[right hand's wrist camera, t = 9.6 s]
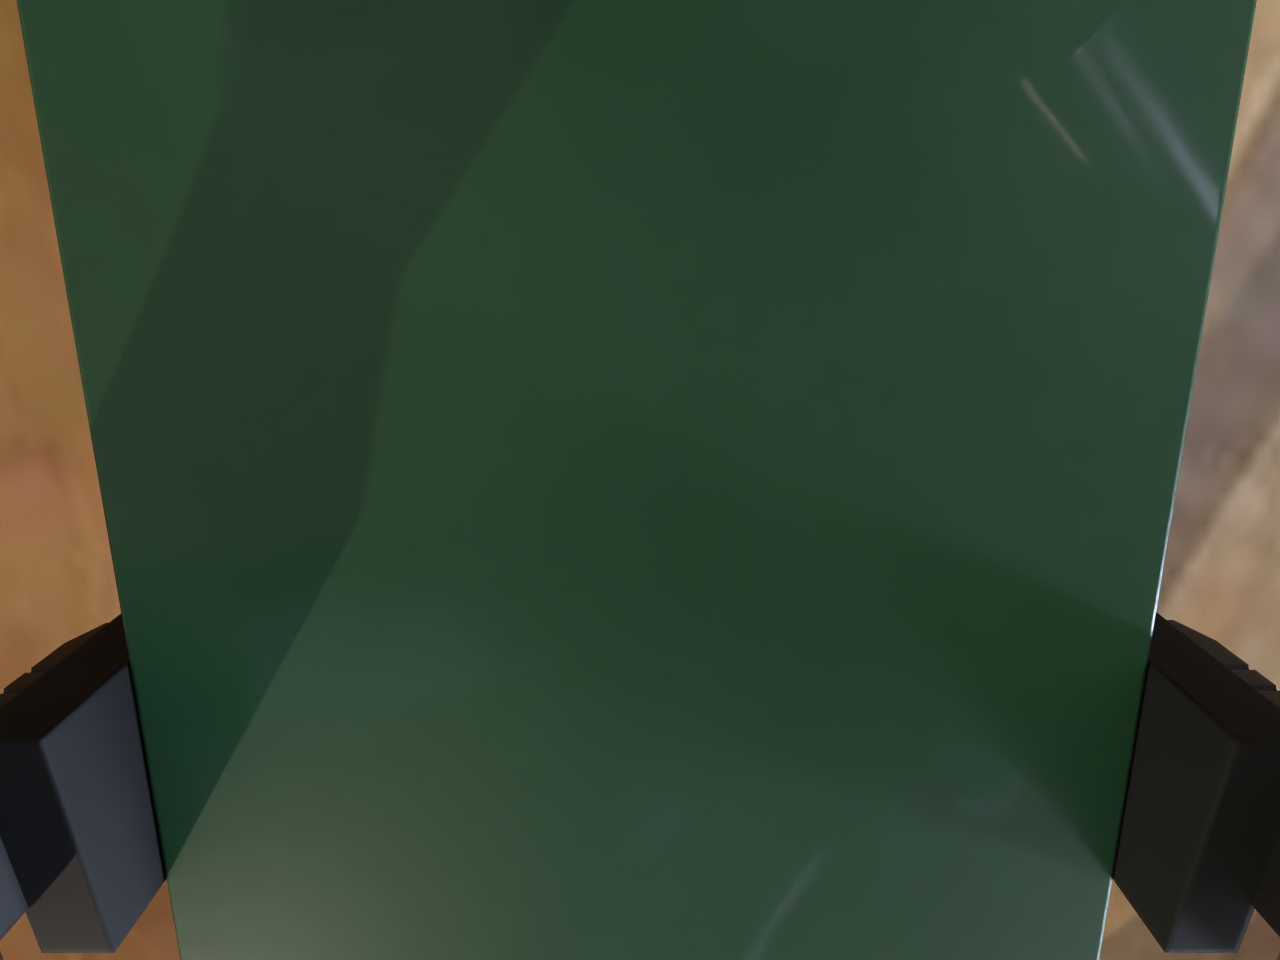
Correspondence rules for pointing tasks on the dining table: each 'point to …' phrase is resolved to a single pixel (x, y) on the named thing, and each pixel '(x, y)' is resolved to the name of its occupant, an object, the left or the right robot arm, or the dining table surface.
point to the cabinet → (638, 456)
